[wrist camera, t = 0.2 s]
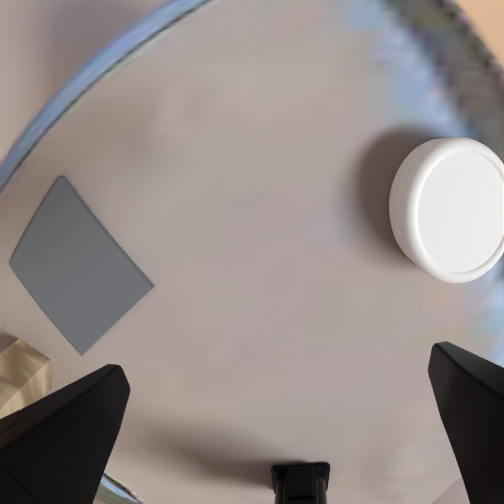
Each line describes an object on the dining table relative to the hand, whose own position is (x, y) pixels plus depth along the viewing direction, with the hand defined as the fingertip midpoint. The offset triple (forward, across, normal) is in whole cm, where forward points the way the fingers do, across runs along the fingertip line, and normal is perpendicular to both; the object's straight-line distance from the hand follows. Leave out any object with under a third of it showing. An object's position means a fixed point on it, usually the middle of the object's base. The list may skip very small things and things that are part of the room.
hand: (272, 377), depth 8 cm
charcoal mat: (+14, +18, +1) cm, 23 cm away
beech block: (+14, +30, +12) cm, 35 cm away
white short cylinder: (+15, -13, -1) cm, 20 cm away
